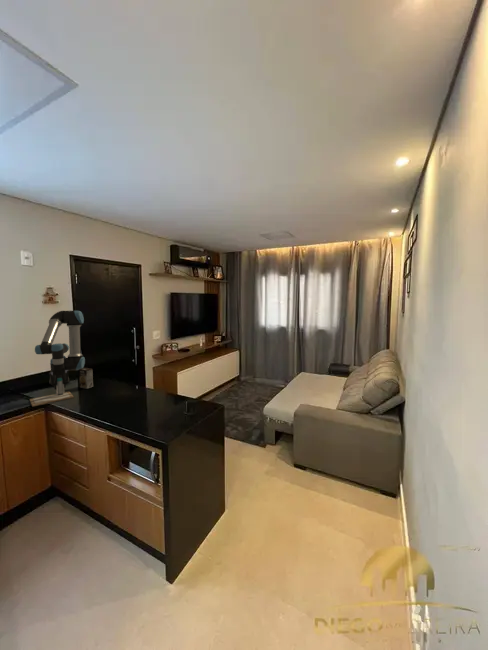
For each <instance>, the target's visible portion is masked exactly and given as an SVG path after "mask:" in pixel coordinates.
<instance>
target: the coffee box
mask: <svg viewBox="0 0 488 650" xmlns="http://www.w3.org/2000/svg"><path fill="white" fill-rule="evenodd" d="M93 371H94V370H93V368H88V367H83V368H81V369H79V370H78V376H79V377H78V378H79V379H78V381H79V388H82V389H86V390H87V389H91V388H92V387H94V379H93V378H94V376H93V375H94V373H93Z"/></svg>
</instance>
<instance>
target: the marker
mask: <svg viewBox="0 0 488 650" xmlns="http://www.w3.org/2000/svg"><path fill="white" fill-rule="evenodd" d="M57 385H58V395H63V382H62V378H57Z"/></svg>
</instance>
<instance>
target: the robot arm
mask: <svg viewBox="0 0 488 650" xmlns="http://www.w3.org/2000/svg"><path fill="white" fill-rule="evenodd" d="M84 321H85V319H84V313H83V312H82V311H80V310H60V311H59V310H58V311H57V312H55V313H54V314H52V316H51V317H50V319H49V320H48V326H47V328H46V331H45V334H44V336H43V338H42V341H41V343H40V344H37V345H35V347H34V352H35V354H36V355H51V357H52V358H51V359H50V363H49V364H50V372H48V375H49V385H51V386H53V388H54V390H55V394H58V385H57V378H62V382H63V393H64V392H65V389H66V384H68V383H69V382H70V378H69V373H70V371H79V369H81V368H85V364H86V359H85V358H86V357H84V356H83V354H82V353H81V327H82V326H83V325H82V324H84ZM64 324H65V325H66V327H67V328H68V343H69V344H67V343H54V340H55V338H56V335H57V333H58V332H59V328H60V327H61V326H62V325H64ZM67 352H69V354H68V355H67V356H65V355H64V354H65V353H67Z"/></svg>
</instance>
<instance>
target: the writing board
mask: <svg viewBox="0 0 488 650" xmlns="http://www.w3.org/2000/svg"><path fill="white" fill-rule="evenodd" d="M74 398H75V397H74V395H73V393H71V392H70V391H64V393H63V395H58V394H57V393H55V394H50V395H49V394H47V395H44V396H38V397H34V398H30V399H29V402H30V405H31V407H32V408H33V407H38V406H42V405H48V404H51V403H50V402H53V403H56V401H57V402H61V400H62V401H66V399H67V400H71V399H74Z"/></svg>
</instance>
